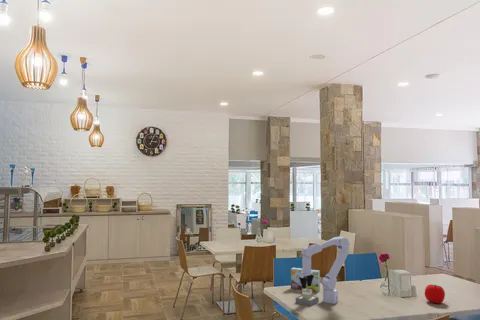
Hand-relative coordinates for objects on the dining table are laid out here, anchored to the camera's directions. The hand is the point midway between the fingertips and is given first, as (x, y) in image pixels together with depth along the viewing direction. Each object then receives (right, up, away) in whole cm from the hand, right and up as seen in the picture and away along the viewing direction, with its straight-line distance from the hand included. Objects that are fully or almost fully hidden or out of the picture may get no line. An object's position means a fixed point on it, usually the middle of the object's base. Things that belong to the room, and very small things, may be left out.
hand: (306, 287), depth 262 cm
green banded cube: (0, -7, -1) cm, 7 cm away
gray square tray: (0, -10, -1) cm, 10 cm away
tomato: (+86, -12, +5) cm, 87 cm away
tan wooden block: (0, -10, -1) cm, 10 cm away
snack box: (+5, -13, +34) cm, 37 cm away
